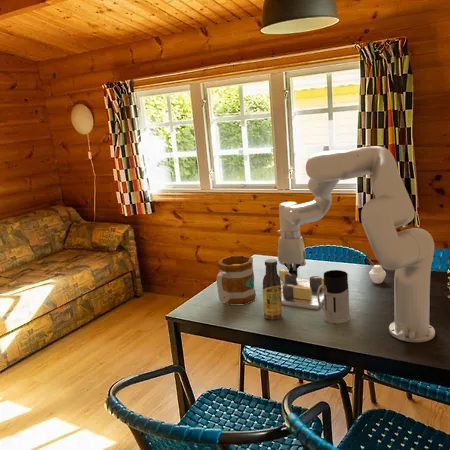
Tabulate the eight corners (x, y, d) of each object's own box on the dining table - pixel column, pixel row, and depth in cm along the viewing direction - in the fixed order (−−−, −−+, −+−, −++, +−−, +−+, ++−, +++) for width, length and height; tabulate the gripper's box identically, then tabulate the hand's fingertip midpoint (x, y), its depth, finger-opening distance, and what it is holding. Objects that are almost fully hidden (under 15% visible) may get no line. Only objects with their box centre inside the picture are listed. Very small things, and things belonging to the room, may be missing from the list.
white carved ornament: (387, 284, 170) (387, 267, 169) (370, 285, 171) (370, 267, 170) (384, 278, 176) (384, 261, 175) (368, 279, 177) (367, 262, 176)
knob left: (298, 285, 173) (298, 275, 172) (288, 288, 171) (287, 277, 170) (286, 277, 182) (286, 267, 181) (276, 279, 181) (276, 269, 180)
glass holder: (356, 315, 148) (354, 272, 144) (331, 332, 139) (329, 286, 135) (333, 309, 154) (331, 267, 151) (307, 324, 145) (305, 280, 141)
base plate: (317, 309, 155) (317, 299, 154) (264, 301, 165) (264, 292, 164) (337, 286, 173) (336, 277, 172) (288, 280, 183) (288, 272, 182)
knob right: (310, 290, 167) (310, 279, 166) (309, 286, 171) (308, 275, 170) (339, 289, 166) (339, 278, 165) (337, 284, 170) (336, 273, 169)
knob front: (281, 297, 163) (280, 286, 162) (286, 293, 167) (285, 282, 166) (308, 301, 158) (308, 290, 157) (313, 296, 162) (312, 285, 161)
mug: (232, 289, 180) (228, 253, 176) (262, 293, 173) (259, 256, 169) (205, 309, 164) (201, 270, 160) (237, 314, 157) (234, 274, 153)
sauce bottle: (267, 322, 149) (263, 265, 144) (261, 314, 155) (256, 259, 150) (286, 318, 151) (282, 261, 146) (278, 311, 157) (275, 256, 152)
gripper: (268, 235, 175) (272, 280, 179) (305, 237, 167) (308, 284, 171) (276, 230, 181) (280, 273, 185) (312, 232, 174) (314, 277, 178)
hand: (293, 278), depth 178 cm, fingers closed
